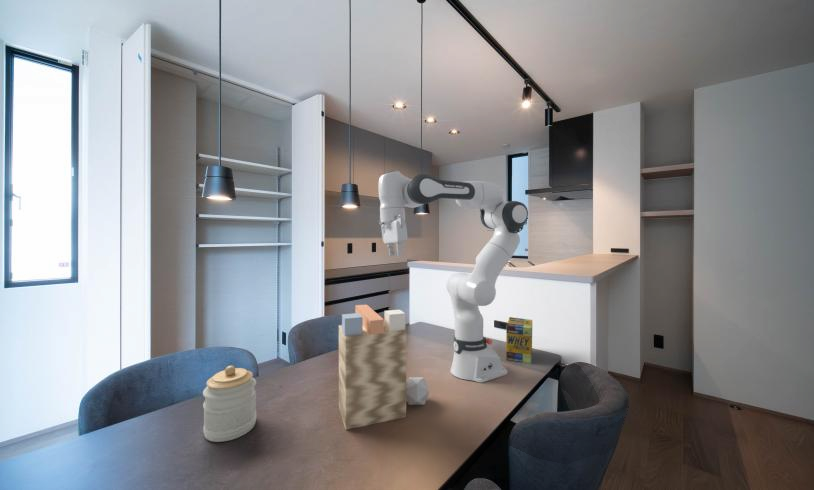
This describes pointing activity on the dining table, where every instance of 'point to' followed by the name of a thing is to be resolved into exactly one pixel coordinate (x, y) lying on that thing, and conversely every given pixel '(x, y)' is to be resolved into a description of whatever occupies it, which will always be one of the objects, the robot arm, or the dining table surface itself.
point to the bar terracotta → (370, 319)
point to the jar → (229, 404)
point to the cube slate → (352, 324)
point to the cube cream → (394, 320)
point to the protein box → (519, 340)
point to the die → (416, 391)
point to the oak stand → (372, 377)
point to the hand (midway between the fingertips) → (395, 255)
